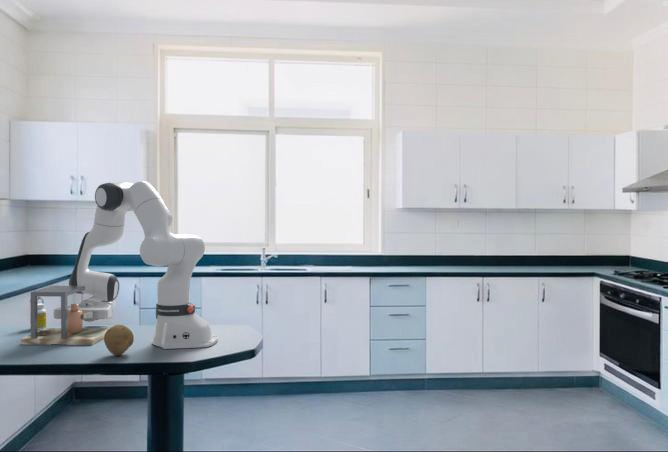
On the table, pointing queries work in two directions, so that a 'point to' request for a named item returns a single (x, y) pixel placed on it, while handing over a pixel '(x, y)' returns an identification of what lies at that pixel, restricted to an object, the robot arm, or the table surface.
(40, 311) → the supplement bottle
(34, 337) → the tunnel roof
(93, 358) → the table surface
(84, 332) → the birch board
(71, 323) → the terracotta bottle
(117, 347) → the natural sponge
